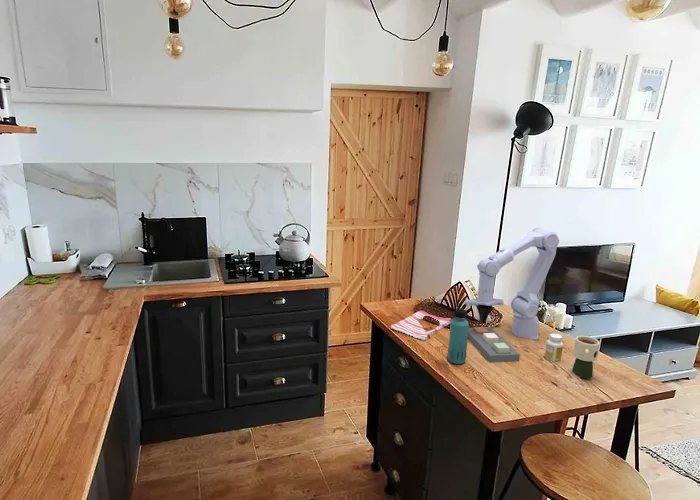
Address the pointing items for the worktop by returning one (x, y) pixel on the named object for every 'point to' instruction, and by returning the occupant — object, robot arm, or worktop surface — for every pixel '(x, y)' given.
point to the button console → (491, 347)
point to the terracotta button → (480, 330)
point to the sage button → (501, 348)
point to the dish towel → (418, 325)
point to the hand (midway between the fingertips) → (482, 322)
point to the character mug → (585, 356)
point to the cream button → (490, 338)
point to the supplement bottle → (554, 348)
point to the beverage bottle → (458, 337)
